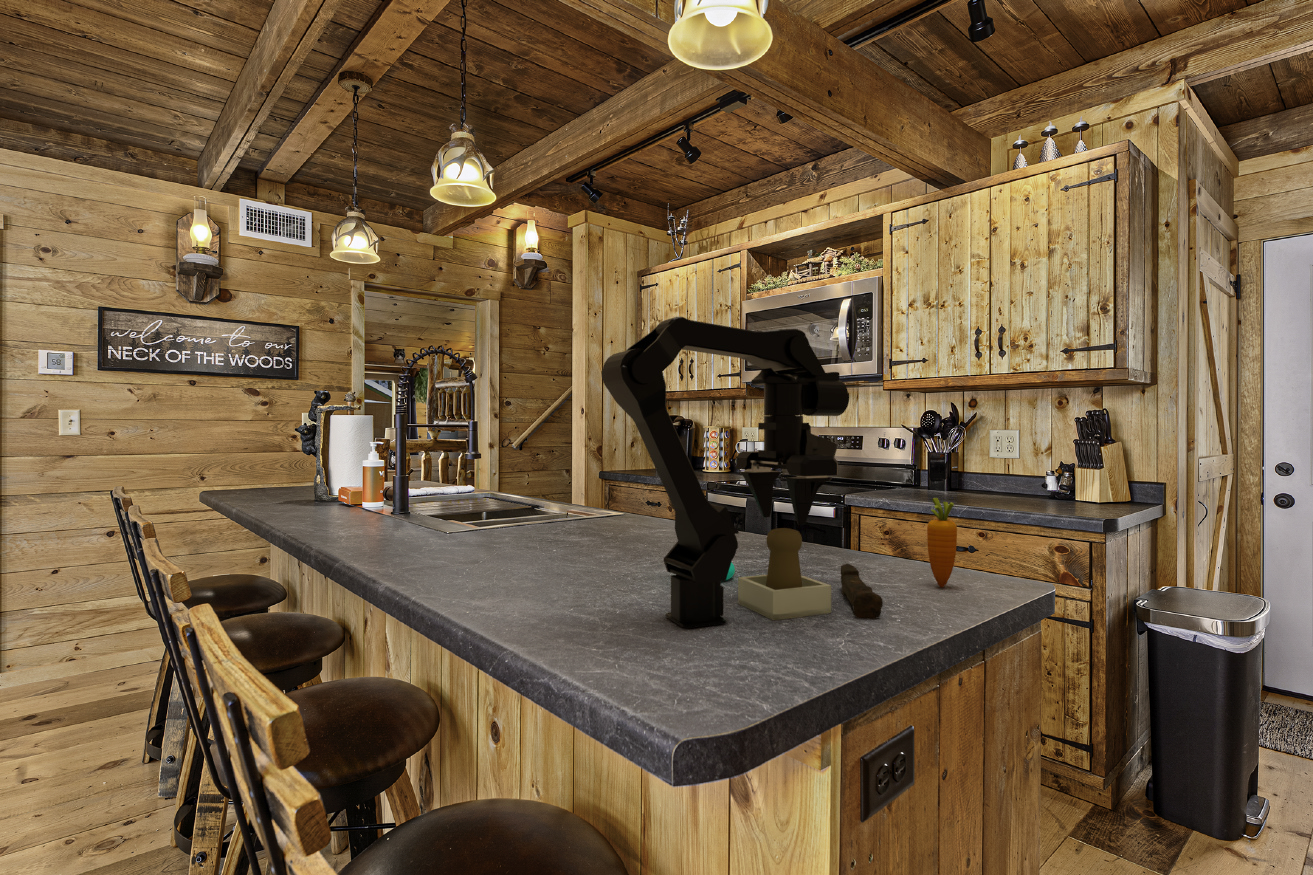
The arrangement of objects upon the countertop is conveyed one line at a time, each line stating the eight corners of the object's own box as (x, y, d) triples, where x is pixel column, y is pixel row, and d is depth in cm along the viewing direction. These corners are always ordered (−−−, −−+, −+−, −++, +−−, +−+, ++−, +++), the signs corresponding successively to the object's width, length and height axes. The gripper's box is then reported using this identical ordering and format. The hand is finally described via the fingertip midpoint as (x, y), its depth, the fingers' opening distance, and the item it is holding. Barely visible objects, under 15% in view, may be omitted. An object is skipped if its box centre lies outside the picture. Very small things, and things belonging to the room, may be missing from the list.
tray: (773, 620, 95) (773, 591, 95) (738, 603, 104) (738, 577, 104) (831, 612, 98) (831, 585, 98) (792, 597, 107) (792, 572, 107)
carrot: (962, 590, 112) (963, 500, 112) (932, 590, 112) (933, 499, 112) (950, 584, 117) (950, 496, 117) (921, 583, 117) (921, 496, 117)
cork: (759, 605, 99) (759, 530, 99) (768, 596, 105) (768, 525, 105) (801, 609, 97) (801, 532, 97) (808, 599, 103) (808, 527, 103)
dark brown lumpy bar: (883, 621, 95) (883, 588, 95) (853, 620, 96) (853, 587, 96) (862, 589, 114) (862, 562, 114) (837, 588, 114) (837, 561, 114)
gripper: (869, 415, 95) (869, 526, 95) (793, 417, 112) (793, 511, 113) (802, 414, 91) (802, 531, 91) (734, 416, 108) (734, 514, 108)
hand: (783, 521), depth 101 cm, fingers open, 9 cm apart
